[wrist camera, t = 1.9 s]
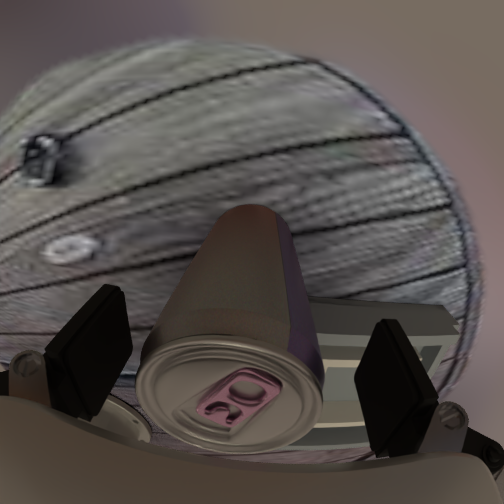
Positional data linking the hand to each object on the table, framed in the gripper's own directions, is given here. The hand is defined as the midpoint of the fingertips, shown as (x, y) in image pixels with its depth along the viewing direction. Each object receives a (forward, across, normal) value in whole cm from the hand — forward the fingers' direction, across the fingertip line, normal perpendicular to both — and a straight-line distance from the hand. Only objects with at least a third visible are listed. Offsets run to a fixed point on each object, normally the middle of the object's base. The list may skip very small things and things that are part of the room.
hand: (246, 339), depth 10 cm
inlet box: (+12, -10, +13) cm, 20 cm away
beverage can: (+12, 0, +1) cm, 12 cm away
